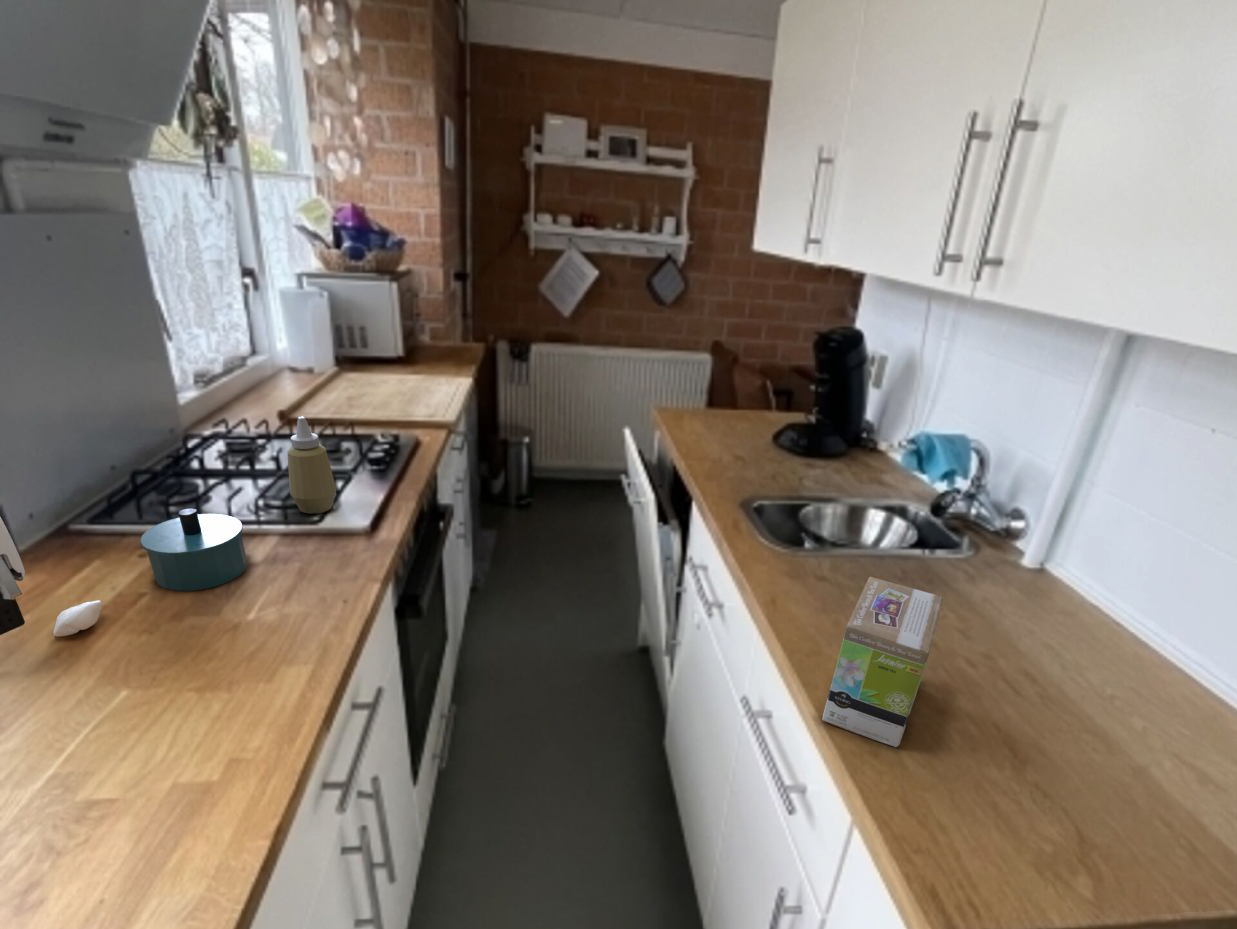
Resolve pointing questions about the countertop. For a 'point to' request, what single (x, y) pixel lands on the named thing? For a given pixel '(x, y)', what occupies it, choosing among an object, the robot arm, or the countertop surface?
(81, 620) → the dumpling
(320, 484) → the squeeze bottle
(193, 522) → the pot lid
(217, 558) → the pot
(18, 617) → the robot arm
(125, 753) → the countertop surface
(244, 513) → the countertop surface
